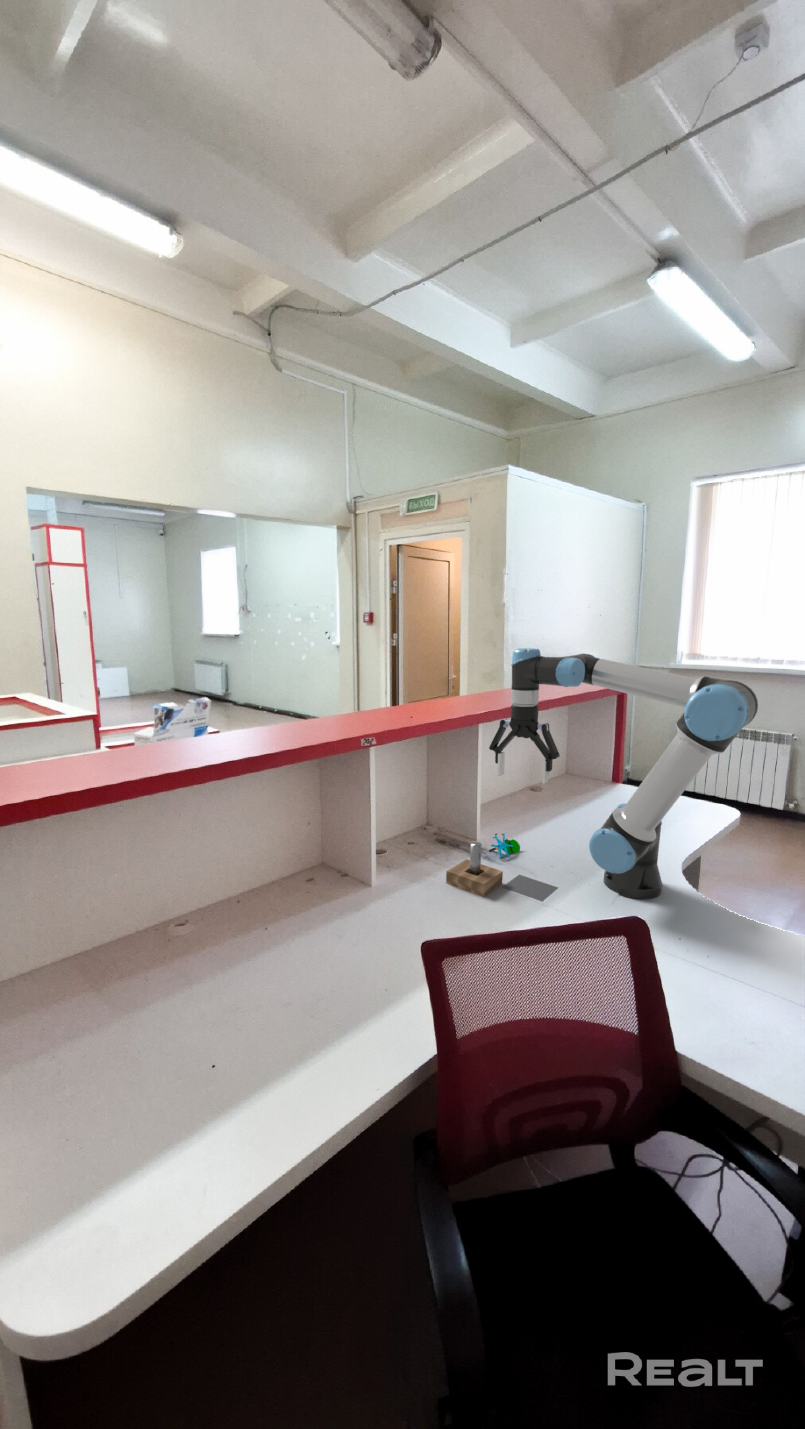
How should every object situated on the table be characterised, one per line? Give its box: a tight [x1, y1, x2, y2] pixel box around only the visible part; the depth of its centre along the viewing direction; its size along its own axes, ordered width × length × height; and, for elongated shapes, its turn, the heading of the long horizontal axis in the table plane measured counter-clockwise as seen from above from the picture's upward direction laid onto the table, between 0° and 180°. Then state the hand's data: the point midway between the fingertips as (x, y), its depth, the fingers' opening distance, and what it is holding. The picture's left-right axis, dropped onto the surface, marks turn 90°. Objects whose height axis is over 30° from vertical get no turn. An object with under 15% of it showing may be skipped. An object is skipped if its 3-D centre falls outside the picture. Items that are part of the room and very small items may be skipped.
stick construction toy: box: [488, 833, 521, 859], centre depth 183 cm, size 12×7×8 cm
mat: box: [501, 874, 559, 902], centre depth 160 cm, size 12×10×1 cm
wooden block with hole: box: [445, 858, 504, 898], centre depth 162 cm, size 12×10×4 cm
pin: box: [469, 841, 482, 876], centre depth 161 cm, size 3×3×12 cm
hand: (522, 778), depth 166 cm, fingers open, 13 cm apart
